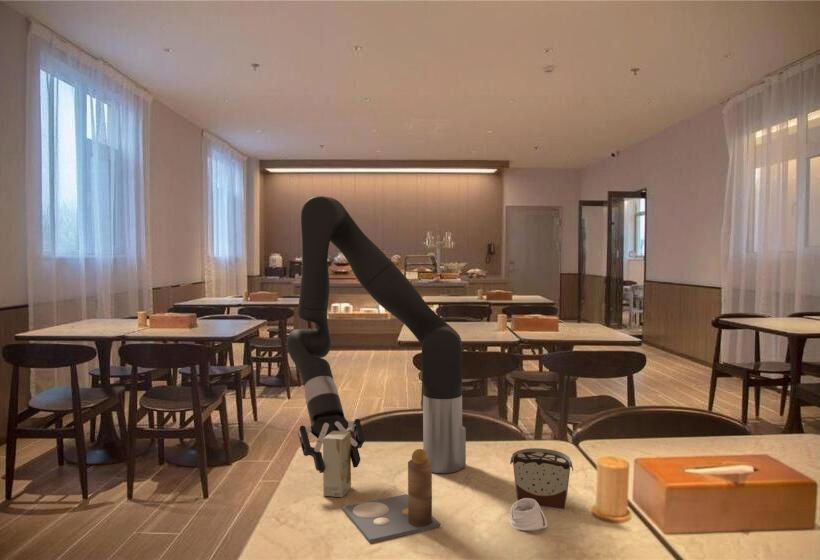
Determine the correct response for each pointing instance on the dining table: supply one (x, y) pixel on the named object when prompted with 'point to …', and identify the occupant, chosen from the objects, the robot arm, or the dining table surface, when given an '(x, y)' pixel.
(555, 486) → the food container
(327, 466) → the skincare box
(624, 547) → the dining table surface
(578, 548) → the dining table surface
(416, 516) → the walnut tube
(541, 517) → the white crumpled cloth
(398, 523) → the card
